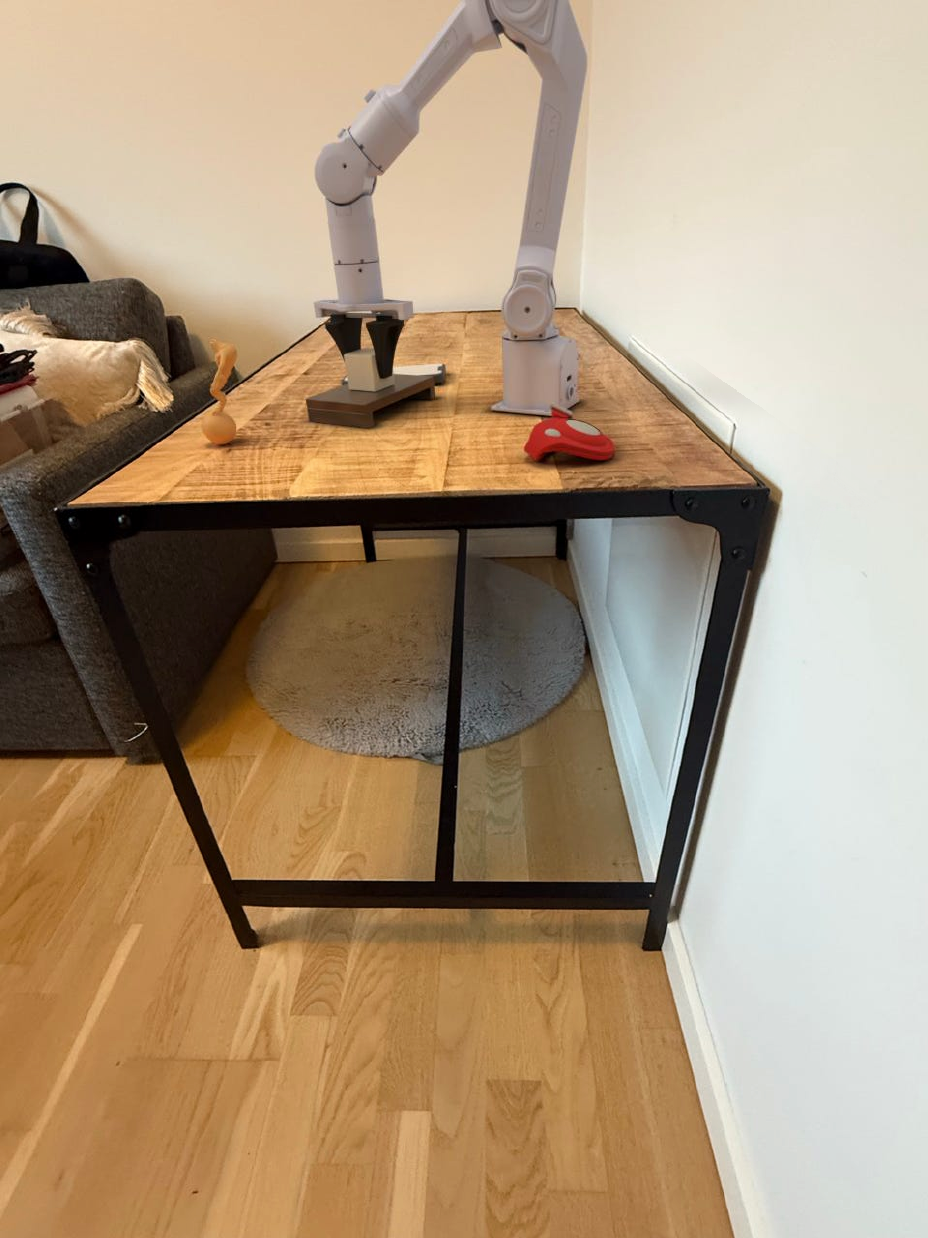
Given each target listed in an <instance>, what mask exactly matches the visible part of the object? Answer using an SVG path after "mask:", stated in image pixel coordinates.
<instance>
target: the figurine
mask: <svg viewBox="0 0 928 1238" xmlns="http://www.w3.org/2000/svg"><path fill="white" fill-rule="evenodd" d="M209 343H210V344H211V345H210V346H209V347H210V349H211V350H212V351H214V361H215V364H216V366H217V371H216V373H215V375H214V379H213V382H212V383H211V384H210V388H209V392H210V394H211V396H212V397H214V398H215V399H216V400H217V401H218V402H220V404H219V406H218V407H216V408H214V410H213V411H210V412H208V413H207V414H205V416H204V417H203V418H202V422H201V430H202V433H203V435H204V437H205V438H206V439H207V440H208V441H209V442H211V443H213V444H215V445H227V444H229V443H230V442H232V441H233V440H234V439H235V437H236V434H237V424H236V421H235V420H234V418H233V417H232V416H231V415H230V414H229V413H227V412H225V411H224V409H225V406H226V404H227V401H228V400H227V394H226V392H225V391H222V390H221V389H222V388H223V387H225V385H226V384H227V383H228V379H229V378H230V376H231V375H232V369H233V367H234V366H235V363H236V360H237V356H238V350H237V348H236V346H235V345H234V344H231V343H225V342H221V341H219V340H218V339H215V338H213V339H211V340H210V342H209Z"/></svg>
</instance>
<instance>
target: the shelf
mask: <svg viewBox="0 0 928 1238" xmlns="http://www.w3.org/2000/svg"><path fill="white" fill-rule="evenodd" d="M394 383H395V384H393V385H391V386H388V387H386V388H383V389H381V390H378V391H376V392H373V391H362V390H351V389H349V386H348V383H347V384H345V385H342V384H341V385H340V386H339V385H338V386H337V387H333V388H331V389H328V390H325V391H323V392H320V393H316V394H314V395H312V396H309V397H306V398H305V404H306V410H307V417H308V421H309V422H311V423H320V424H329V425H336V426H345V427H354V428H360V429H361V428H363V429H371V428H374V427H375V420H374V419H375V418H374V413H373V412H376V411H377V410H380V409H382V408H385V407H387V406H389V405H391V404H394V403H396V402H399V401H401V400H403V399H416V400H427V401H432V400H435V399H436V385H435V384H434V377H432V376H418V375H404V374H394Z"/></svg>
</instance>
